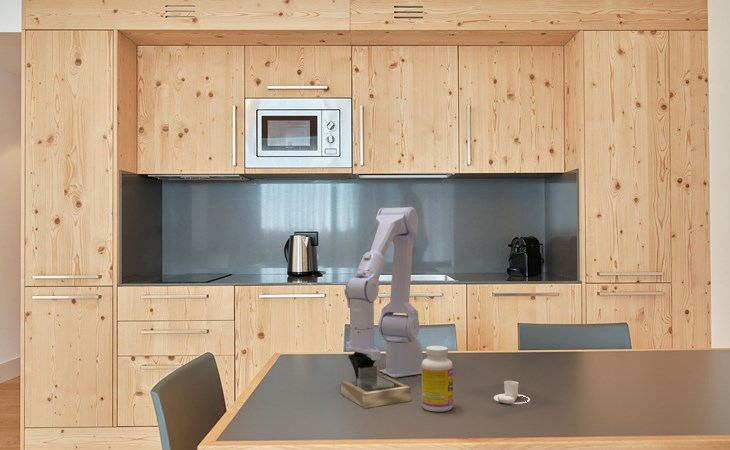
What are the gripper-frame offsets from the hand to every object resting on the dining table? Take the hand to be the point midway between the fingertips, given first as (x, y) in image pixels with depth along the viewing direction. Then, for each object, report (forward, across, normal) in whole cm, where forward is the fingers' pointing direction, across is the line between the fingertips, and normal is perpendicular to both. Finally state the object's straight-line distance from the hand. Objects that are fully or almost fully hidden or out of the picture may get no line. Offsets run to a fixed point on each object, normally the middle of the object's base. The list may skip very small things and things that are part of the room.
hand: (362, 384), depth 139 cm
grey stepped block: (+1, +6, 0) cm, 7 cm away
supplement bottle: (+2, +20, +8) cm, 21 cm away
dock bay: (+1, +6, 0) cm, 6 cm away
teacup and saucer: (+2, +21, +24) cm, 31 cm away
